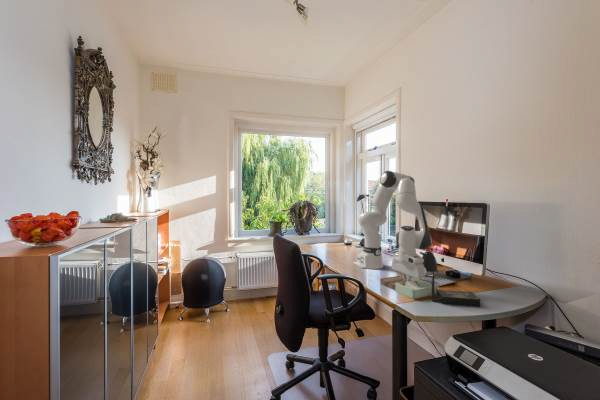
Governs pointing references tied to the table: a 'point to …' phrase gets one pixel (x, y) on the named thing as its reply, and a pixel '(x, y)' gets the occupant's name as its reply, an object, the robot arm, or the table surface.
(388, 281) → the walnut board
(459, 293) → the black rod on base
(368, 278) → the table surface
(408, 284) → the tile rear
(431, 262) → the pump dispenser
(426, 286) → the tray
